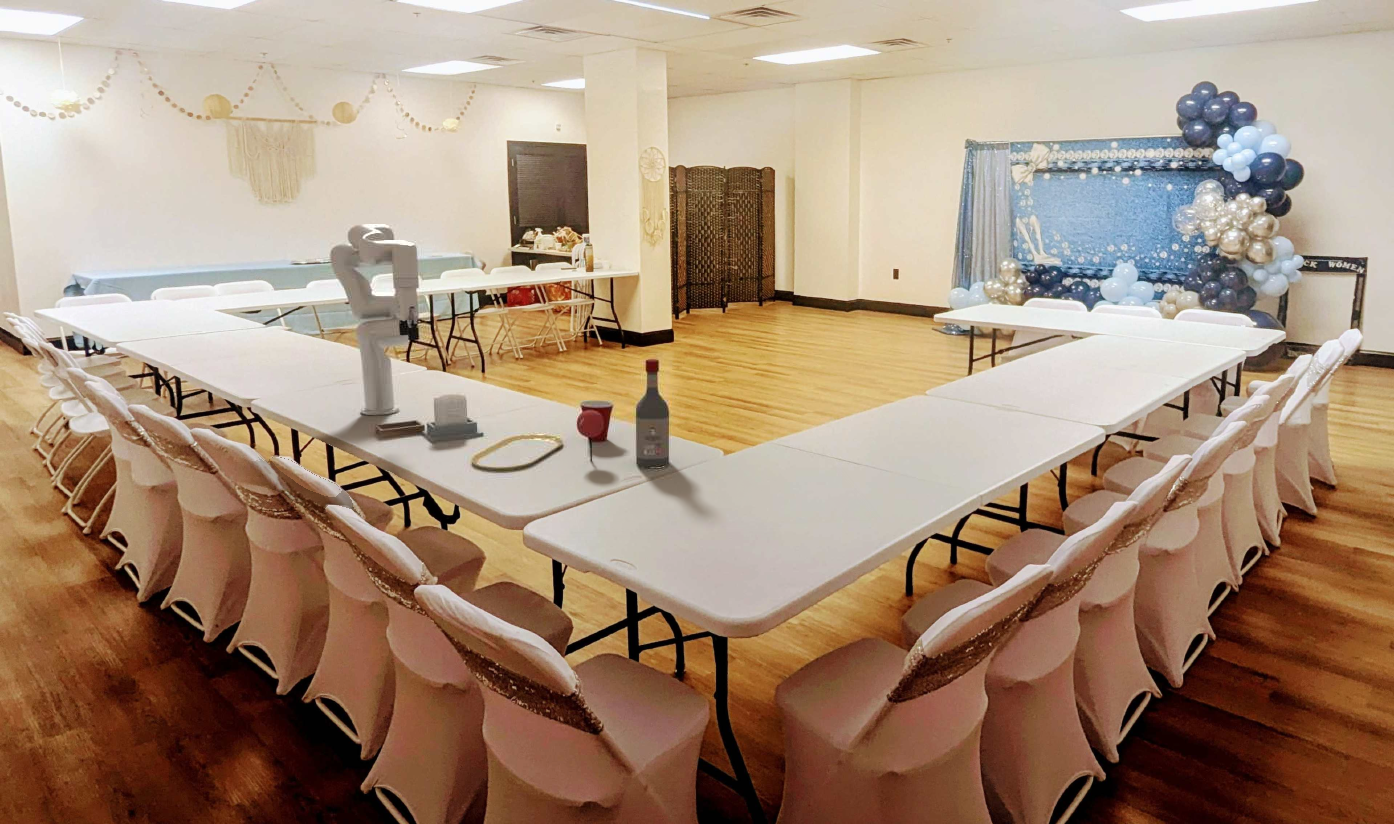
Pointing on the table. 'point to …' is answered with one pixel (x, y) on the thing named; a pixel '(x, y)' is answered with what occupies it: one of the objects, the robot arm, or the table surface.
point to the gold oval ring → (509, 440)
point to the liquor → (652, 423)
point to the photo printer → (450, 409)
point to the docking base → (452, 431)
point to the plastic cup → (605, 412)
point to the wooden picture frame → (399, 429)
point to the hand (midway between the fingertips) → (409, 337)
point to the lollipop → (590, 425)
